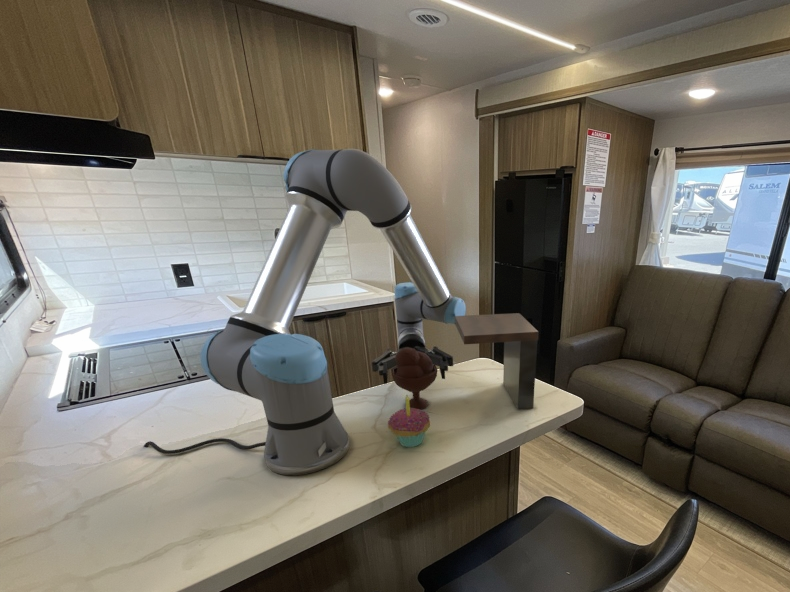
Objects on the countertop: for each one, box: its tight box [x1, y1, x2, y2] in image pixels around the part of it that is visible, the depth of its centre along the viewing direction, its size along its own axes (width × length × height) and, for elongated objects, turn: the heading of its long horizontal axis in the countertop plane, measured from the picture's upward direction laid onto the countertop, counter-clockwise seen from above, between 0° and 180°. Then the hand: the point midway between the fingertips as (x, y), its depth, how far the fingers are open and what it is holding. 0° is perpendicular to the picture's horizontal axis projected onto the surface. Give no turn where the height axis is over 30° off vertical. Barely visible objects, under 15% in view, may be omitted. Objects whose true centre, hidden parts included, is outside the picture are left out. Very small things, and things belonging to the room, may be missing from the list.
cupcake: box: [387, 394, 431, 448], centre depth 83 cm, size 9×8×12 cm
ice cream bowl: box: [390, 348, 439, 410], centre depth 97 cm, size 11×11×15 cm
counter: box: [454, 312, 540, 411], centre depth 100 cm, size 17×16×20 cm
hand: (414, 376), depth 95 cm, fingers open, 13 cm apart
